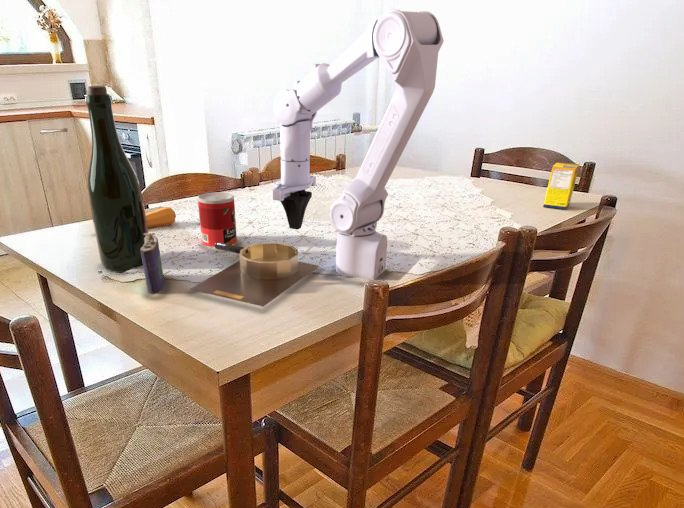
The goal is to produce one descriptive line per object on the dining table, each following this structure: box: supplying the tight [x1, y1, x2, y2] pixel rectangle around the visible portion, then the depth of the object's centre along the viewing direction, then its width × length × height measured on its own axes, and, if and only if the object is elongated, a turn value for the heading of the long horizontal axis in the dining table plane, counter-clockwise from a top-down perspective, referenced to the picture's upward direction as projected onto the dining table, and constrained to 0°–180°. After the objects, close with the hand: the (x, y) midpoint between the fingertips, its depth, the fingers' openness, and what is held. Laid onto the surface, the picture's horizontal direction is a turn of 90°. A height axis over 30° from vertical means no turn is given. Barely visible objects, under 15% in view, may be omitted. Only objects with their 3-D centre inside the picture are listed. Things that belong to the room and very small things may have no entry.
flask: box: [140, 232, 165, 299], centre depth 97 cm, size 9×3×11 cm, turn 8°
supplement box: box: [543, 162, 580, 211], centre depth 144 cm, size 6×6×11 cm
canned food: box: [197, 191, 238, 248], centre depth 118 cm, size 8×8×11 cm
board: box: [189, 260, 320, 307], centre depth 102 cm, size 16×22×1 cm
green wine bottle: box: [85, 85, 150, 273], centre depth 102 cm, size 10×10×33 cm
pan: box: [214, 242, 299, 280], centre depth 106 cm, size 19×11×4 cm, turn 61°
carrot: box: [145, 206, 177, 229], centre depth 131 cm, size 20×4×4 cm, turn 119°
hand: (295, 228), depth 111 cm, fingers closed
